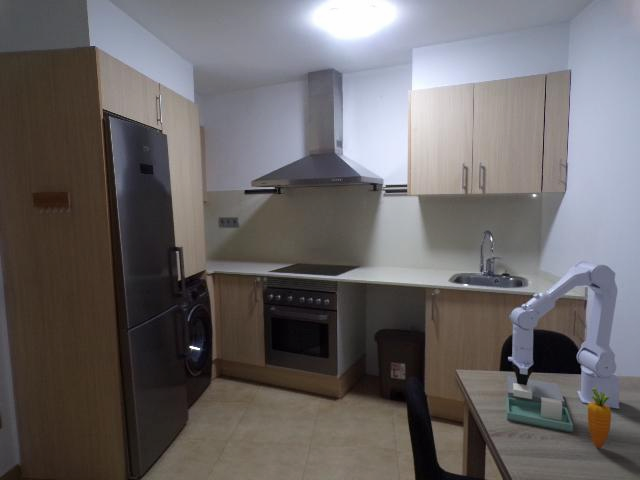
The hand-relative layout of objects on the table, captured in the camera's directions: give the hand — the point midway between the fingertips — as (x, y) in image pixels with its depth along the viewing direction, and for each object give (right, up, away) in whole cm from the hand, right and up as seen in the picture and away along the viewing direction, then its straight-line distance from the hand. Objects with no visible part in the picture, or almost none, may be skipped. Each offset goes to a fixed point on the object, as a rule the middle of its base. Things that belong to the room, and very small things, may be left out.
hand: (521, 387), depth 119 cm
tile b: (-2, -1, -3) cm, 4 cm away
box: (-1, -5, -10) cm, 11 cm away
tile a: (+3, -2, -10) cm, 11 cm away
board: (+4, -4, +1) cm, 6 cm away
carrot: (+6, -6, -25) cm, 26 cm away
